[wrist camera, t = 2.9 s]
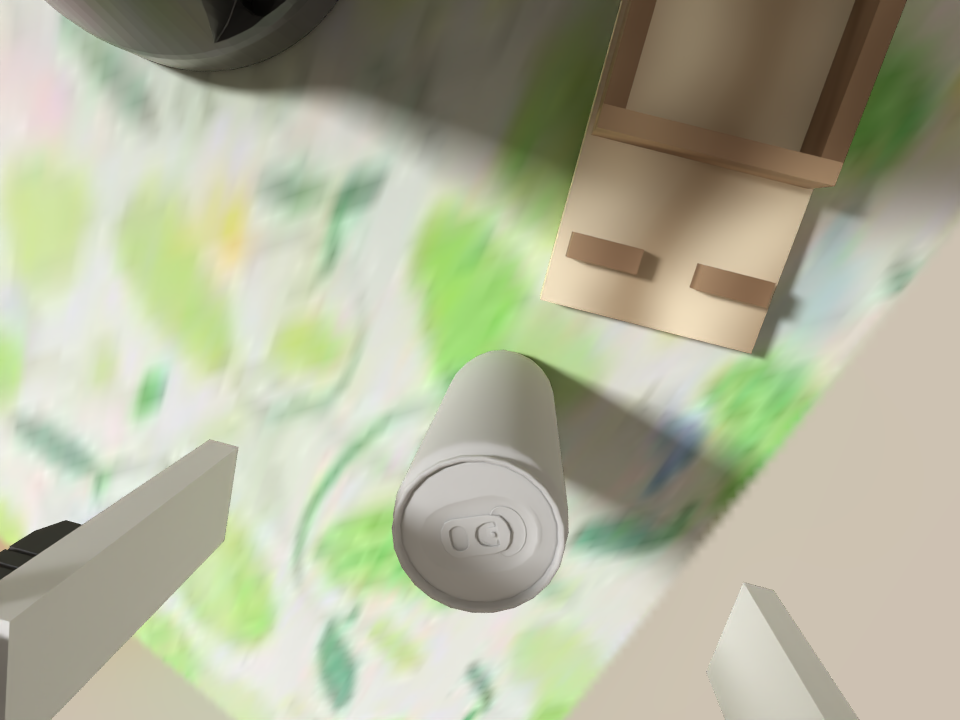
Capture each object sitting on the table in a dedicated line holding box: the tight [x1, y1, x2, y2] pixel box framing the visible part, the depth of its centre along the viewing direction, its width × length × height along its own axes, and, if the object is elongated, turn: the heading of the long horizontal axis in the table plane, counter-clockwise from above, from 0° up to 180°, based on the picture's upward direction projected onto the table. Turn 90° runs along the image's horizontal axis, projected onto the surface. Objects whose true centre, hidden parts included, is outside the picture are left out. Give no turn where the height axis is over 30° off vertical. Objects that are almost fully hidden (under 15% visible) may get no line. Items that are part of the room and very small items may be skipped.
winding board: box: [540, 0, 907, 354], centre depth 22 cm, size 9×16×3 cm, turn 166°
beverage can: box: [392, 350, 569, 613], centre depth 21 cm, size 5×5×12 cm
